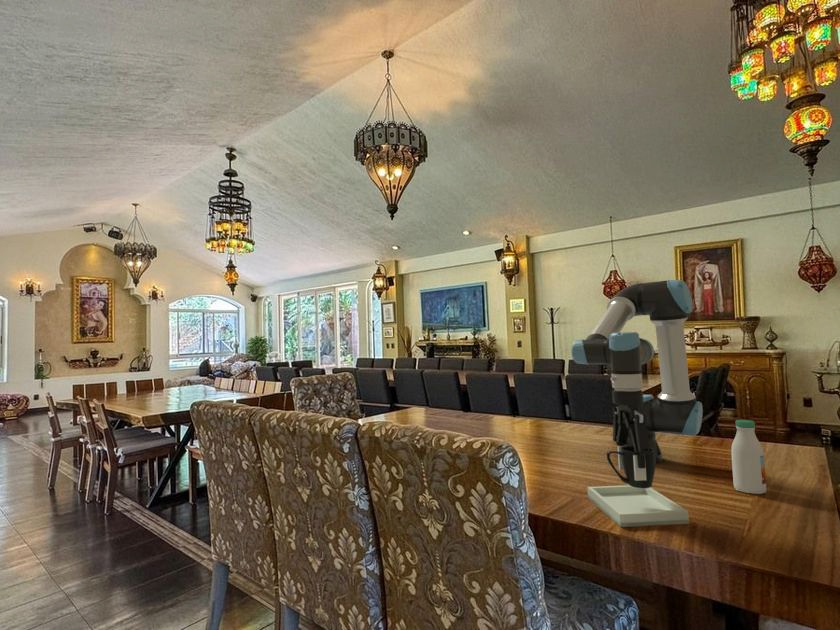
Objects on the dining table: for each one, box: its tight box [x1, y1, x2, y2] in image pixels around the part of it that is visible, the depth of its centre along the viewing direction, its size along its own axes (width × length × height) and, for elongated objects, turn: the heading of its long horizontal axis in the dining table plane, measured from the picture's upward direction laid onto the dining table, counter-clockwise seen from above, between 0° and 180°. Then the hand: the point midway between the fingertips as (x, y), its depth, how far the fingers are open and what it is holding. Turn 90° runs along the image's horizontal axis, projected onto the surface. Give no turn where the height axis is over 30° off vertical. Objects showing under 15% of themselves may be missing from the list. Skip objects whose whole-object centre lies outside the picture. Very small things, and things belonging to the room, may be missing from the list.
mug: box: [606, 446, 657, 488], centre depth 120 cm, size 8×12×10 cm
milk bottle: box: [730, 419, 767, 495], centre depth 130 cm, size 8×8×20 cm
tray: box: [587, 484, 690, 528], centre depth 119 cm, size 17×20×3 cm
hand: (632, 474), depth 119 cm, fingers closed on mug, 8 cm apart
